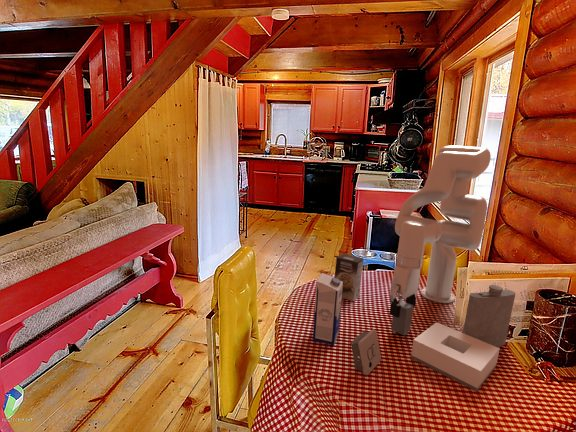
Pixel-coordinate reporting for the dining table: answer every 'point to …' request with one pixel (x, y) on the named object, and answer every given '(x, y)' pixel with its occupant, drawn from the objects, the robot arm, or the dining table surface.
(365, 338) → the electrical switch
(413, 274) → the robot arm
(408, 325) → the plug
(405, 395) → the dining table surface
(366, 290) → the dining table surface
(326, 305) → the milk carton
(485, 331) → the hip flask
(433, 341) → the socket
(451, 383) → the dining table surface
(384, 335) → the dining table surface
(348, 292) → the coffee box
